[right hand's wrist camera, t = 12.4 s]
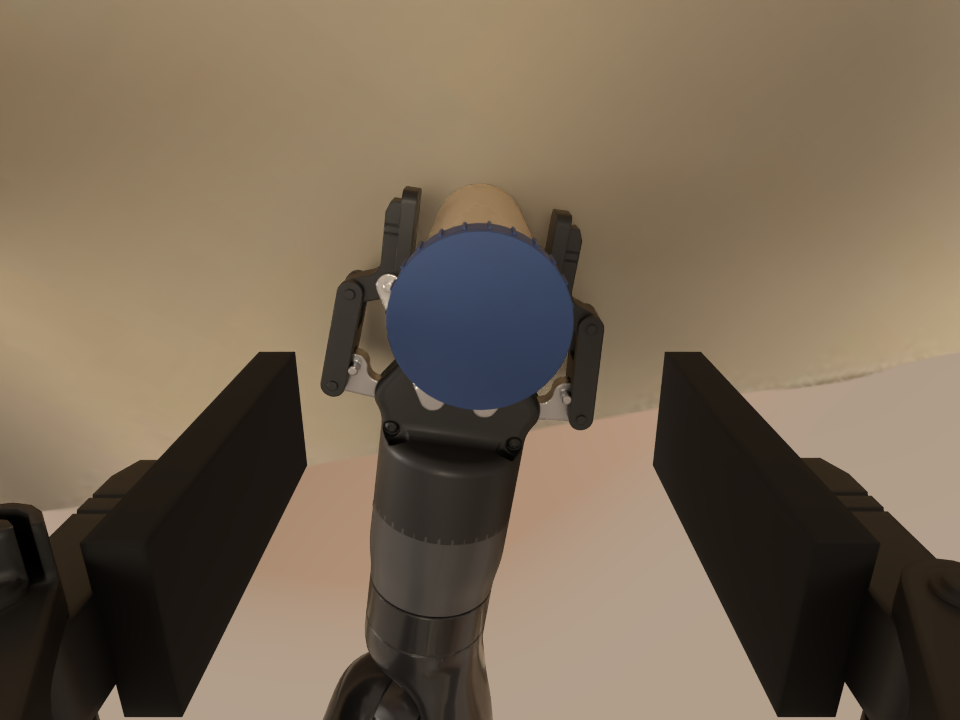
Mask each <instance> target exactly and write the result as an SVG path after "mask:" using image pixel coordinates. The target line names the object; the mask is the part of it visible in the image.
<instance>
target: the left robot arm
mask: <svg viewBox="0 0 960 720" xmlns="http://www.w3.org/2000/svg"><path fill="white" fill-rule="evenodd" d="M420 202H421V188H416V187H409V186H406V187H405V188H404V190H403V194H402V198H396V197H395V198H394V199H393V200H392V201H391V202H390V204H389V206H388V208H387V210H386V214H385V225H384V235H383V245H382V256H381V264H380V266H379V267H377V268H375V269H371V270H366V271H361V270H355V271H352V272H351V273H350V274H349V275H348V276H347V277H346V280H345V281H344V282H342V283H341V285H340V286H339V287H338V289H337V294H336V299H335V305H334V311H333V316H332V322H331V328H330V333H329V339H328V344H327V350H326V356H325V361H324V367H323V373H322V378H321V389H322V391H323V392H324V393H325V394H327V395H329V396H333V397H335V396H339V395H341V394H342V393H343V392H344V390H345V391H349V392H354V393H358V394H362V395H367V396H371V397H375V400H376V403H377V405H378V407H379V409H380V412H381V416H382V425H381V434H380V444H379V454H378V463H377V473H376V482H375V492H374V500H373V512H372V521H371V530H370V554H371V574H370V583H369V592H368V602H367V610H366V621H365V638H366V643H367V648H368V650H369V652H368V653H366V654H364V655H362V656H360V657H359V658H358V659H356V660H355V661H354V662H353V663H352V664H351V665H350V666H349V667H348V668H347V669H346V670H345V672H344V673H343V675H342V676H341V678H340V680H339V682H338V684H337V686H336V688H335V690H334V693H333V695H332V698H331V700H330V703H329V705H328V708H327V710H326V713H325V716H324V718H323V720H492V706H491V697H490V690H489V685H488V679H487V673H486V666H485V657H484V647H483V630H484V624H485V619H486V614H487V609H488V603H489V598H490V593H491V588H492V584H493V580H494V577H495V574H496V572H497V569H498V567H499V564H500V561H501V557H502V553H503V548H504V543H505V538H506V533H507V528H508V523H509V518H510V512H511V507H512V502H513V497H514V492H515V486H516V481H517V476H518V471H519V466H520V461H521V456H522V450H523V445H524V441H525V438H526V435H527V434H528V432H529V430H530V429H531V428H532V427H533V426H534V425H535V424H536V422H537V421H538V419H545V420H568V421H569V423H570V425H571V426H572V427H573V428H574V429H576V430H585V429H587V428H588V427H590V426H591V424H592V422H593V416H594V408H595V400H596V391H597V383H598V375H599V367H600V359H601V350H602V342H603V334H604V325H603V323H602V321H601V319H600V318H599V316H598V314H597V313H596V311H595V309H594V308H593V307H592V306H591V305H589V304H586V303H582V302H581V301H579V300H577V299H575V298H574V297H573V296H572V288H573V283H574V279H575V274H576V269H577V264H578V259H579V253H580V249H581V244H582V238H581V233H580V229H579V228H578V227H577V226H576V225H571V223H572V215H571V214H570V213H569V212H568V211H563V210H557V209H553V212H552V215H551V221H550V226H549V232H548V237H547V242H546V248H545V251H546V253H547V254H548V255H550V254H552V256H553V257H554V259H555V261H556V264H555V265H556V266H557V268H558V270H559V272H560V274H561V275H562V274H564V276H565V278H566V280H567V282H568V285H566V286H567V288H568V291H569V294H570V297H571V300H572V302H573V304H574V308H573V315H574V326H573V328H574V330H573V335H572V339H571V344H570V347H569V350H568V359H567V369H566V377H560V378H557V379H556V380H555V381H554V382H553V384H552V387H551V390H550V391H549V392H548V393H547V394H546V395H543V396H538V395H537V393H534V394H533V395H531V396H529V397H528V398H526V399H524V400H522V401H520V402H518V403H515V404H512V405H509V406H506V407H502V408H497V409H490V410H469V409H463V408H458V407H454V406H451V405H447V404H445V403H443V402H440V401H438V400H436V399H434V398H432V397H431V396H429V395H427V394H426V393H424V392H423V391H422V390H420V389H419V388H418V387H417V386H416V385H415V384H414V383H413V382H411V381H410V380H409V378H408V377H407V376H406V375H405V373H404V372H403V371H402V369H401V368H400V366H399V364H398V363H397V361H396V359H395V360H394V361H393V362H392V363H391V364H390V365H389V366H388V367H387V368H386V369H385V370H384V371H383V372H382V373H381V375H380V374H377V373H375V372H374V371H373V370H372V368H371V366H370V357H369V355H368V353H367V352H366V351H365V350H363V349H360V348H358V346H359V341H360V336H361V331H362V326H363V321H364V315H365V310H366V305H367V301H372V300H377V299H381V301H382V303H383V306H384V308H385V311H386V309H387V306H388V301H389V297H390V294H391V290H390V287H391V285H392V283H393V281H394V279H397V277H398V276H399V274H400V272H401V270H402V269H401V268H400V267H401V265H402V263H403V261H404V260H405V258H406V259H407V260H408V259H409V257H410V256H411V255H412V254H413V252H414V251H415V246H416V237H417V228H418V219H419V210H420Z"/></svg>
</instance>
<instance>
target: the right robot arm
mask: <svg viewBox="0 0 960 720" xmlns="http://www.w3.org/2000/svg"><path fill="white" fill-rule="evenodd" d="M306 466H307V459H306V450H305V441H304V431H303V422H302V413H301V403H300V394H299V385H298V375H297V366H296V357H295V352H259V353H258V354H257V355H256V356H255V357H254V358H253V359H252V360H251V361H250V362H249V363H248V364H247V365H246V366H245V368H244V369H243V370H242V371H241V372H240V373H239V374H238V375H237V376H236V377H235V378H234V379H233V380H232V381H231V382H230V384H229V385H228V386H227V387H226V388H225V389H224V390H223V391H222V392H221V393H220V394H219V395H218V396H217V397H216V398H215V399H214V401H213V402H212V403H211V404H210V405H209V406H208V407H207V408H206V409H205V410H204V411H203V412H202V413H201V414H200V415H199V417H198V418H197V419H196V420H195V421H194V422H193V423H192V424H191V425H190V426H189V427H188V428H187V429H186V430H185V431H184V433H183V434H182V435H181V436H180V437H179V438H178V439H177V440H176V441H175V442H174V443H173V444H172V445H171V446H170V447H169V448H168V450H167V451H166V452H165V453H164V454H163V455H162V456H161V457H160V458H159V459H158V460H140V461H138V462H136V463H134V464H132V465H131V466H129V467H127V468H125V469H123V470H122V471H120V472H118V473H116V474H114V475H113V476H111V477H110V478H109V479H108V480H107V481H106V482H105V483H104V484H103V485H102V486H101V487H100V488H99V489H98V490H97V491H96V492H95V493H94V494H93V498H89V499H88V500H87V501H86V502H85V503H84V504H83V505H82V506H81V507H79V508H78V509H77V514H72V515H71V516H70V517H69V518H68V519H67V520H66V521H65V522H64V523H63V524H62V525H61V526H60V527H59V528H58V529H57V530H56V531H55V532H54V533H53V534H52V535H51V536H50V537H49V536H48V532H47V529H46V525H45V522H44V518H43V514H42V511H40V510H39V509H37V508H35V507H34V506H32V505H28V504H19V503H6V504H0V720H100V719H99V715H98V711H99V709H100V708H101V706H102V705H103V703H104V702H105V700H106V698H107V697H108V695H109V694H110V692H111V691H112V689H113V688H114V686H115V685H116V686H117V690H118V694H119V698H120V701H121V705H122V709H123V713H124V717H182V716H183V714H184V712H185V710H186V708H187V706H188V704H189V702H190V700H191V698H192V696H193V694H194V692H195V690H196V688H197V686H198V684H199V682H200V680H201V678H202V676H203V674H204V672H205V670H206V668H207V666H208V664H209V662H210V660H211V658H212V656H213V654H214V652H215V650H216V648H217V646H218V644H219V642H220V640H221V638H222V636H223V634H224V632H225V630H226V628H227V626H228V624H229V622H230V620H231V618H232V616H233V614H234V612H235V610H236V608H237V606H238V604H239V602H240V599H241V597H242V595H243V593H244V591H245V589H246V587H247V585H248V583H249V581H250V579H251V577H252V575H253V573H254V571H255V569H256V567H257V565H258V563H259V561H260V559H261V557H262V555H263V553H264V551H265V549H266V547H267V545H268V543H269V541H270V539H271V537H272V535H273V533H274V531H275V529H276V527H277V525H278V523H279V521H280V519H281V517H282V515H283V513H284V511H285V509H286V507H287V505H288V503H289V501H290V499H291V497H292V495H293V493H294V491H295V489H296V487H297V485H298V483H299V481H300V479H301V477H302V474H303V472H304V470H305V468H306ZM653 466H654V468H655V470H656V472H657V475H658V477H659V479H660V480H661V483H662V485H663V487H664V489H665V491H666V493H667V495H668V497H669V499H670V501H671V503H672V505H673V507H674V509H675V511H676V513H677V515H678V517H679V519H680V521H681V523H682V525H683V527H684V529H685V531H686V533H687V535H688V537H689V539H690V541H691V543H692V545H693V547H694V549H695V551H696V553H697V555H698V557H699V559H700V561H701V563H702V565H703V567H704V569H705V571H706V573H707V575H708V577H709V579H710V581H711V583H712V585H713V587H714V589H715V591H716V593H717V595H718V597H719V599H720V602H721V603H722V606H723V607H724V609H725V612H726V614H727V616H728V618H729V619H730V622H731V624H732V626H733V628H734V630H735V632H736V634H737V636H738V638H739V640H740V642H741V644H742V646H743V648H744V650H745V652H746V654H747V656H748V658H749V660H750V662H751V664H752V666H753V668H754V670H755V672H756V674H757V676H758V678H759V680H760V682H761V684H762V686H763V688H764V690H765V692H766V694H767V696H768V698H769V700H770V702H771V704H772V706H773V708H774V710H775V712H776V714H777V716H778V717H836V713H837V709H838V705H839V701H840V697H841V694H842V690H843V686H844V682H845V683H846V684H847V686H848V687H849V689H850V690H851V692H852V693H853V695H854V697H855V698H856V700H857V701H858V703H859V704H860V706H861V707H862V709H863V711H862V715H861V719H860V720H960V562H956V561H952V560H944V559H936V558H935V557H934V556H933V555H932V554H931V553H930V552H929V551H928V550H927V549H926V548H925V547H924V546H923V545H922V544H921V543H920V542H919V541H918V540H917V539H916V538H915V537H914V536H912V535H911V534H910V533H909V532H908V531H907V530H906V529H905V528H904V527H903V526H902V525H901V524H900V523H899V522H898V521H897V520H896V519H895V518H894V517H893V516H892V515H891V514H890V513H889V512H884V508H883V506H881V505H880V504H879V503H878V502H877V501H876V500H875V499H874V498H873V497H872V496H868V492H867V491H866V490H865V489H864V488H863V487H862V486H861V485H860V484H859V483H858V482H857V481H856V480H855V479H854V478H853V477H852V476H851V475H849V474H848V473H846V472H845V471H843V470H841V469H839V468H837V467H836V466H834V465H832V464H830V463H828V462H827V461H825V460H823V459H821V458H800V457H799V456H798V455H797V454H796V453H795V452H794V451H793V450H792V449H791V447H790V446H789V445H788V444H787V443H786V442H785V441H784V440H783V439H782V438H781V437H780V436H779V435H778V434H777V433H776V431H775V430H774V429H773V428H772V427H771V426H770V425H769V424H768V423H767V422H766V421H765V420H764V419H763V418H762V417H761V415H760V414H759V413H758V412H757V411H756V410H755V409H754V408H753V407H752V406H751V405H750V404H749V403H748V402H747V401H746V399H745V398H744V397H743V396H742V395H741V394H740V393H739V392H738V391H737V390H736V389H735V388H734V387H733V386H732V385H731V384H730V382H729V381H728V380H727V379H726V378H725V377H724V376H723V375H722V374H721V373H720V372H719V371H718V370H717V369H716V368H715V366H714V365H713V364H712V363H711V362H710V361H709V360H708V359H707V358H706V357H705V356H704V355H703V354H702V353H701V352H665V357H664V366H663V375H662V385H661V394H660V403H659V413H658V423H657V431H656V441H655V450H654V460H653Z"/></svg>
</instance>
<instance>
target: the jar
mask: <svg viewBox="0 0 960 720" xmlns="http://www.w3.org/2000/svg"><path fill="white" fill-rule="evenodd" d="M488 221H491V224H496V225H502V226H505V227H508V228H511V227H512V226H513V227H515V229H516V231H518V232H520V233H523V234H524V235H526V236H527V237H529V238H531V239H533V238H532V236H531V233H530V231H529V229H528V227H527V224H526V222H525V220H524V217H523V215H522V213H521V210H520V208H519V206H518V205H517V203H516V202H515V200H514V199H513V198H512V197H511V196H510V195H509V194H508V193H506V192H505V191H503V190H502V189H500V188H498V187H495V186H492V185H488V184H472V185H468V186H465V187H462V188H460V189H458V190H457V191H455V192H454V193H452V194H451V195H450V196H449V197H448V198H447V199H446V201H445V202H444V203H443V205H442V207H441V208H440V211H439V213H438V215H437V218H436V220H435V222H434V224H433V227H432V229H431V231H430V234H429V236H428V238H427V240H428V239H429V238H431V237H432V236H434V235H436V234H438V233H439V230H440V229H442V228H443V230H446V229H449V228H452V227H455V226H459V225H463V222H467V224H471V223H488Z"/></svg>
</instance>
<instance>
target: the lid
mask: <svg viewBox="0 0 960 720" xmlns="http://www.w3.org/2000/svg"><path fill="white" fill-rule="evenodd" d="M555 264H556V261H555V259H554V257H553V256H552V254H550V255H548V254H547V253H546V251H545V250H544V249H543V248H542V247H541V246H540V245H538V243H537V240H536V239H535V238H533V239H531V238H529V237H527V236H526V235H524V234H523V233H520V232H518V231H516V229H515V227H513V226H512V227H511V228H508V227H505V226H502V225H496V224H491V221H488V223H471V224H467V222H463V225H459V226H455V227H452V228H449V229H446V230H443V228H442V229H440V230H439V233H438V234H436V235H434V236H432V237H431V238H429V239H428V240H427V241H425V242H424V243H423V242H422V241H421V242H420V243H419V245H418V247H417V249H416V250H415V251H414V252H413V254H412V255H411V256H410V257H409V259H408V260H407V259H406V258H405V260H404V261H403V263H402V265H401V267H400V268H401V269H402V270H401V272H400V274H399V276H398V277H397V279H394V281H393V283H392V285H391V287H390V290H391V294H390V297H389V301H388V306H387V309H386V312H385V313H386V328H387V335H388V340H389V343H390V347H391V350H392V352H393V355H394V357H395V359H396V361H397V363H398V364H399V366H400V368H401V369H402V371H403V372H404V373H405V375H406V376H407V377H408V378H409V380H410V381H411V382H413V383H414V384H415V385H416V386H417V387H418V388H419V389H420V390H422V391H423V392H424V393H426V394H427V395H429V396H431V397H432V398H434V399H436V400H438V401H440V402H443V403H445V404H447V405H451V406H454V407H458V408H463V409H469V410H490V409H497V408H502V407H506V406H509V405H512V404H515V403H518V402H520V401H522V400H524V399H526V398H528V397H529V396H531V395H533V394H534V393H536V392H537V391H538V390H540V389H541V388H542V387H543V386H544V385H546V384H547V383H548V381H549V380H550V379H551V378H552V377H553V376H554V375H555V373H556V372H557V371H558V369H559V368H560V366H561V365H562V363H563V361H564V359H565V357H566V355H567V352H568V350H569V347H570V344H571V339H572V335H573V330H574V328H573V326H574V315H573V308H574V304H573V302H572V300H571V297H570V294H569V291H568V288H567V286H566V285H568V282H567V280H566V278H565V276H564V274H562V275H561V274H560V272H559V270H558V268H557V266H556V265H555Z"/></svg>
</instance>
